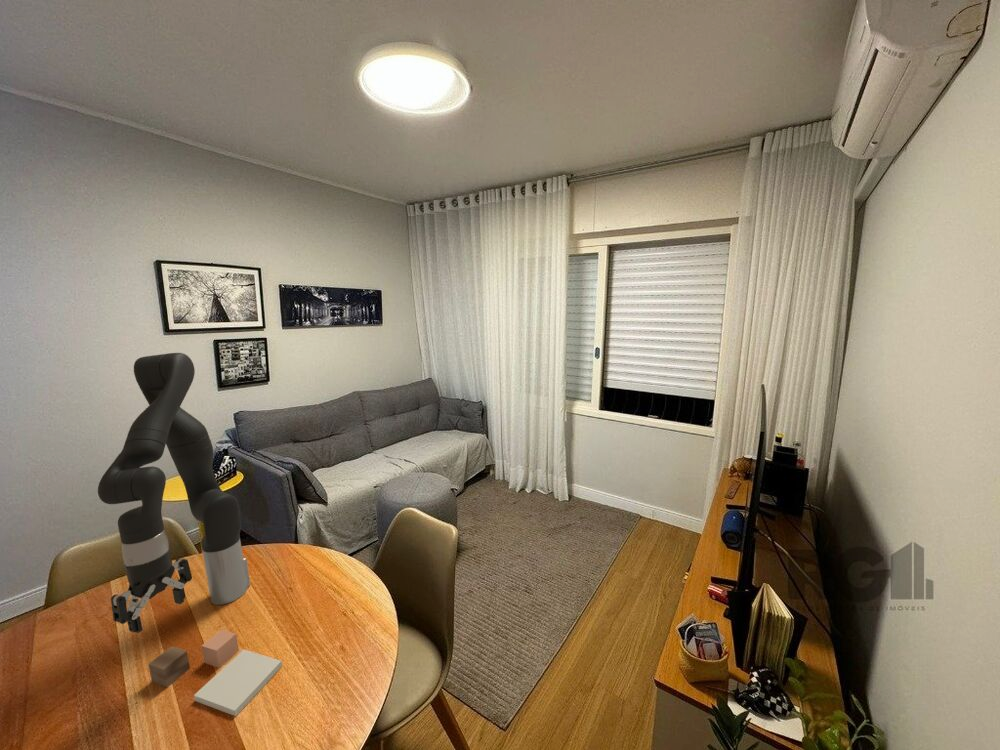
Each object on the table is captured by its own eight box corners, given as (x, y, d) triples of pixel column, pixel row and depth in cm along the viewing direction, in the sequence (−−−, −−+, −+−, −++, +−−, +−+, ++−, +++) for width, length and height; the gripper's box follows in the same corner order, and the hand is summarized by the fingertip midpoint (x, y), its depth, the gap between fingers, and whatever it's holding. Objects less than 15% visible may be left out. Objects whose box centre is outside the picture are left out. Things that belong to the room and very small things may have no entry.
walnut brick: (175, 663, 94) (172, 646, 93) (190, 668, 92) (186, 650, 92) (152, 682, 89) (148, 664, 88) (167, 687, 88) (163, 669, 87)
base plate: (244, 654, 96) (243, 649, 96) (282, 666, 92) (281, 660, 92) (194, 700, 85) (193, 695, 84) (235, 716, 81) (234, 710, 81)
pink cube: (224, 646, 98) (221, 629, 98) (238, 650, 97) (236, 633, 96) (204, 663, 94) (201, 645, 93) (219, 668, 92) (216, 650, 91)
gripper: (170, 532, 93) (181, 591, 96) (95, 571, 80) (110, 638, 82) (192, 537, 91) (202, 597, 94) (119, 577, 77) (133, 646, 80)
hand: (159, 616), depth 88 cm, fingers open, 8 cm apart
